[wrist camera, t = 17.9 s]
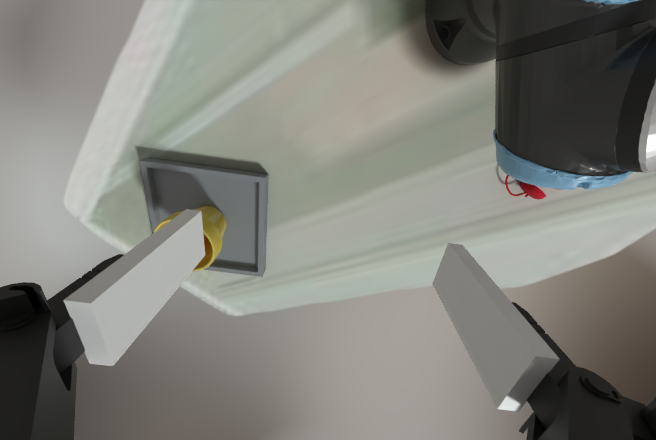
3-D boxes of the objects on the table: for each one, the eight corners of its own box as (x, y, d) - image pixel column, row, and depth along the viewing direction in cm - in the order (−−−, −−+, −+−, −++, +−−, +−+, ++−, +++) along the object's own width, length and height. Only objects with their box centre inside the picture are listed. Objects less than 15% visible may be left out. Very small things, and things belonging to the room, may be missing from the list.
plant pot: (188, 242, 53) (159, 270, 45) (178, 195, 49) (144, 216, 40) (238, 244, 53) (218, 274, 45) (232, 198, 49) (210, 220, 40)
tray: (268, 174, 48) (265, 177, 46) (265, 269, 57) (262, 276, 55) (148, 157, 47) (139, 160, 45) (165, 257, 57) (158, 263, 54)
